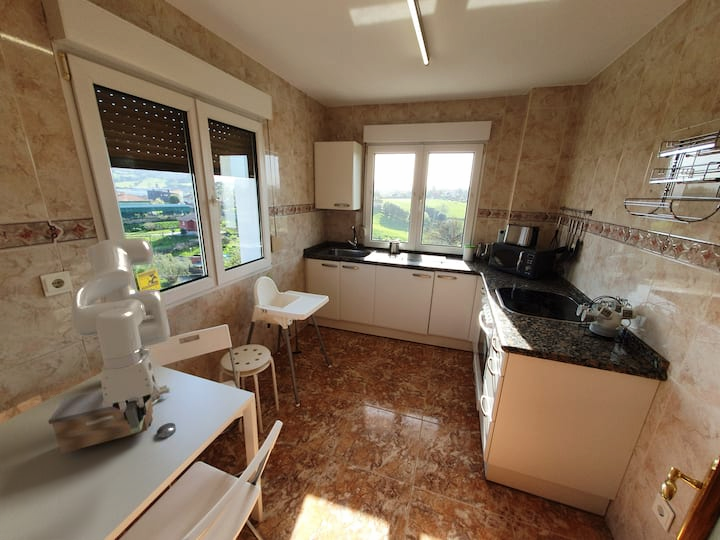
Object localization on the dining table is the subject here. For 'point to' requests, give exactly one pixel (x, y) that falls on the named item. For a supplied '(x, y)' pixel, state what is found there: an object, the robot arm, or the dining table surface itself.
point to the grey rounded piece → (166, 430)
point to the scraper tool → (133, 416)
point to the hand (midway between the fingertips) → (136, 418)
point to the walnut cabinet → (91, 421)
